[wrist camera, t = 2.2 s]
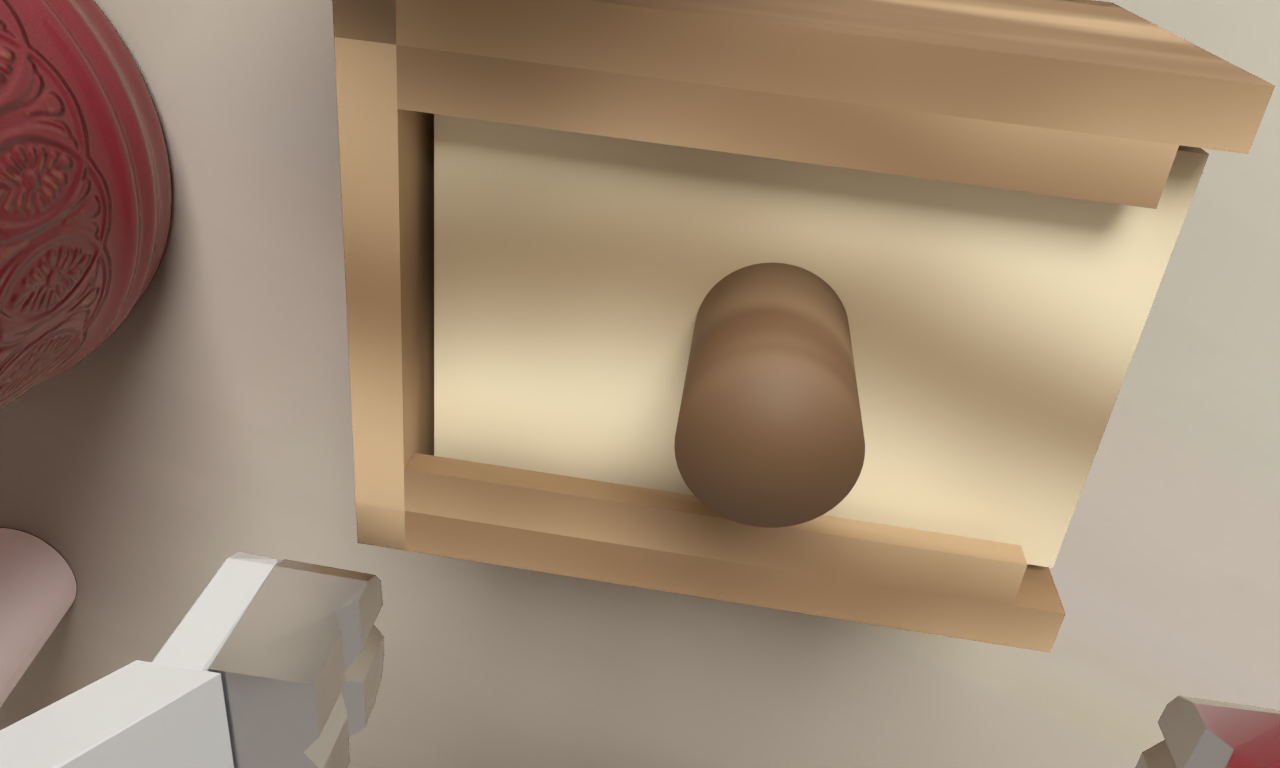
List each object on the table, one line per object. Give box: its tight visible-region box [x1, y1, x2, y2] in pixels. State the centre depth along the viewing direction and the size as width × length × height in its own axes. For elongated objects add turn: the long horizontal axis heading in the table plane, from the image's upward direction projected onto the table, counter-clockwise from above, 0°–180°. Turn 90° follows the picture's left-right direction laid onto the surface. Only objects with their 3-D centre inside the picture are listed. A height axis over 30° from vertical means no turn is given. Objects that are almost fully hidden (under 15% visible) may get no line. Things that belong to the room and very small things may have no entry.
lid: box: [434, 114, 1209, 568], centre depth 17 cm, size 8×13×5 cm
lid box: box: [332, 0, 1275, 653], centre depth 21 cm, size 11×14×8 cm
